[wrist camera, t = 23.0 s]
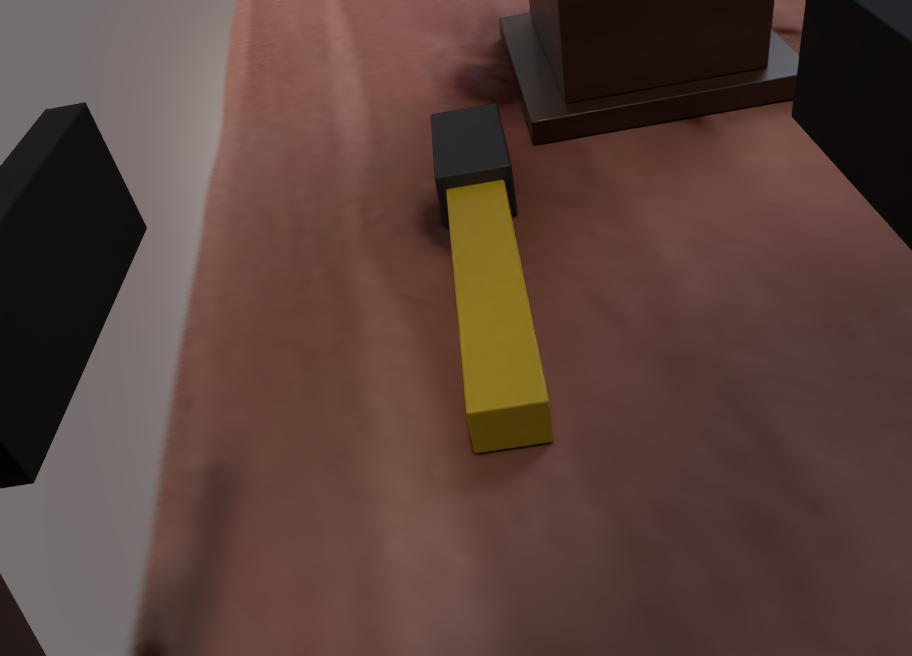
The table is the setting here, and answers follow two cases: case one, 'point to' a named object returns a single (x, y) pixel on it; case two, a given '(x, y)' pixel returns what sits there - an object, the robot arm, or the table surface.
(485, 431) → the highlighter
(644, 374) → the table surface
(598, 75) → the pedestal stand
